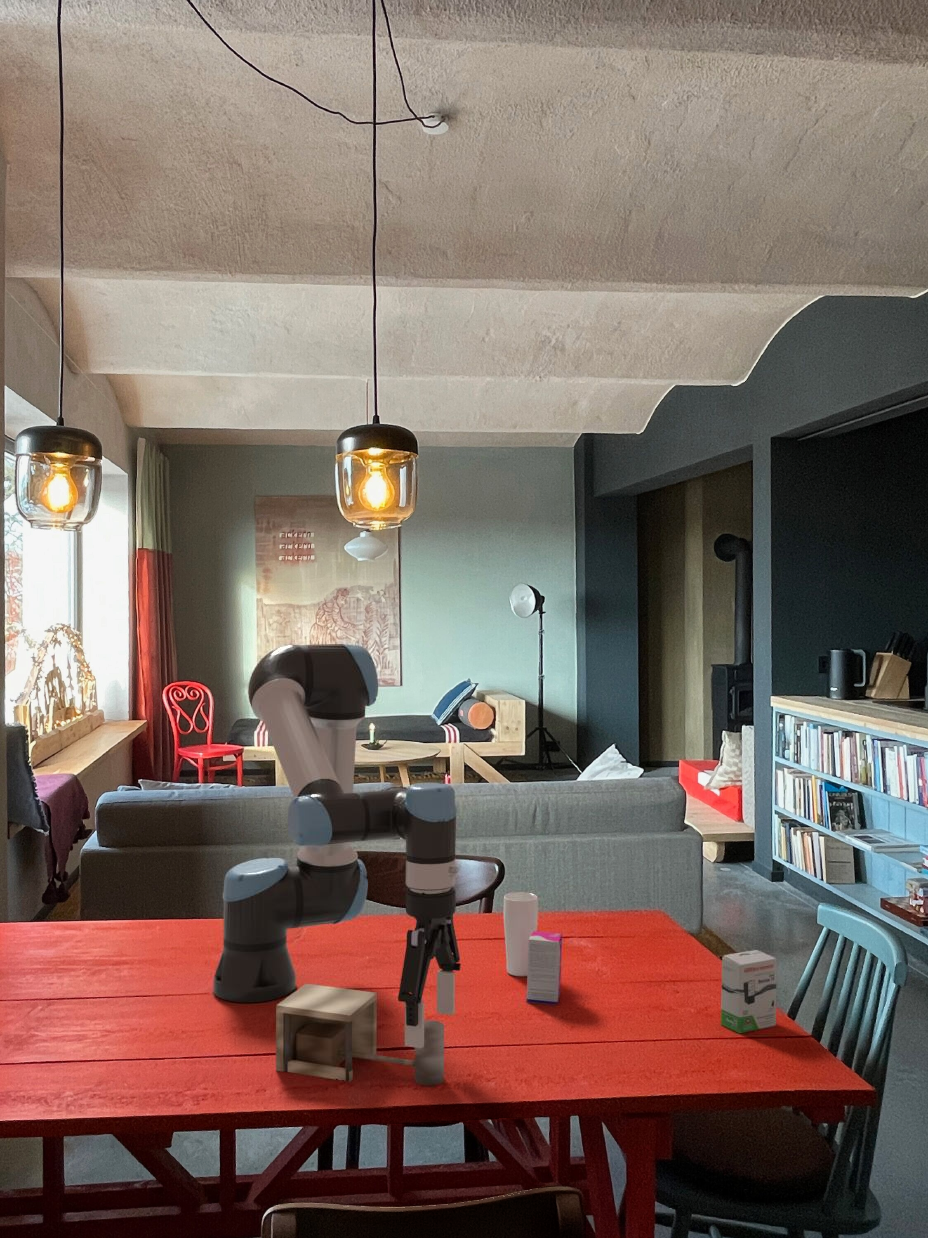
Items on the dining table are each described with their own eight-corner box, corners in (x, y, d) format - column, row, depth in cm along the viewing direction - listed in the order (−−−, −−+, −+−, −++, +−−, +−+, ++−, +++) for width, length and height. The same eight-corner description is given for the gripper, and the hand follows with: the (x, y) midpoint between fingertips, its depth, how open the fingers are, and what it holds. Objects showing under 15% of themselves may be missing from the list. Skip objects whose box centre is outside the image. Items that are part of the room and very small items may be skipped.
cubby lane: (275, 1070, 159) (276, 1005, 159) (305, 1045, 169) (306, 983, 169) (349, 1082, 155) (350, 1015, 155) (376, 1056, 165) (376, 993, 165)
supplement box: (558, 1005, 187) (559, 941, 187) (525, 1002, 188) (526, 939, 188) (562, 994, 193) (562, 932, 193) (530, 991, 194) (530, 930, 194)
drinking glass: (498, 976, 202) (498, 899, 202) (509, 965, 208) (510, 890, 208) (531, 980, 199) (531, 902, 199) (541, 970, 206) (542, 894, 206)
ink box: (739, 1035, 174) (739, 964, 174) (719, 1024, 179) (719, 955, 179) (778, 1026, 178) (778, 956, 178) (757, 1016, 183) (758, 948, 183)
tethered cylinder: (296, 1066, 161) (296, 1014, 161) (311, 1053, 165) (311, 1003, 165) (437, 1088, 153) (437, 1034, 153) (448, 1074, 158) (448, 1022, 158)
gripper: (425, 910, 143) (425, 1065, 143) (479, 871, 167) (479, 1004, 167) (374, 906, 146) (374, 1058, 145) (435, 868, 169) (435, 999, 169)
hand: (430, 1029), depth 156 cm, fingers open, 13 cm apart
